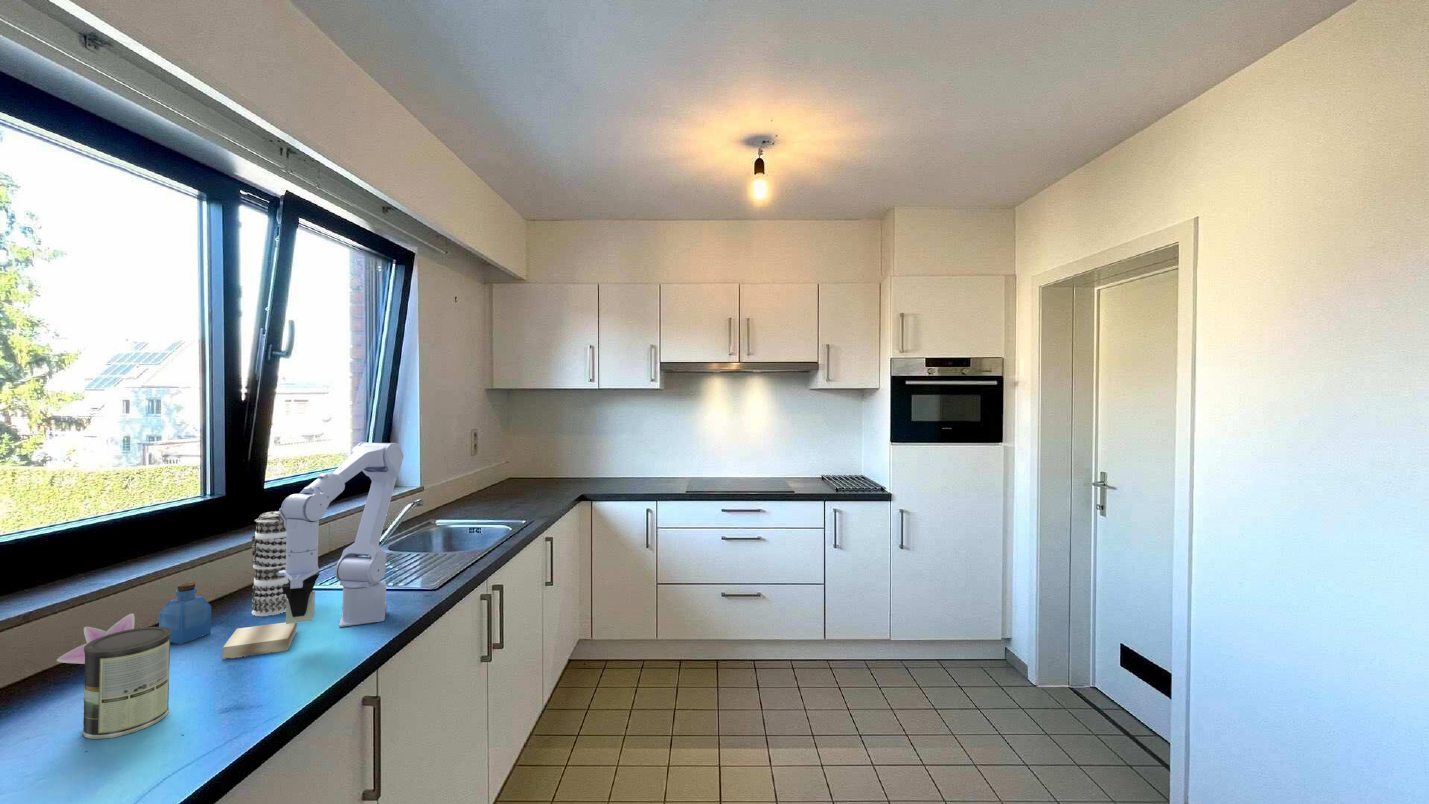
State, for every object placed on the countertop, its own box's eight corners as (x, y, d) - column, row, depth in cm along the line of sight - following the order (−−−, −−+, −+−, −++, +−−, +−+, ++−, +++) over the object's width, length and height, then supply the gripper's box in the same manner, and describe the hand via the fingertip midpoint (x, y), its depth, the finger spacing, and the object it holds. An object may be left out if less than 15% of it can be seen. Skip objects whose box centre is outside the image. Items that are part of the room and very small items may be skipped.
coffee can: (61, 740, 91) (64, 651, 91) (122, 706, 102) (124, 626, 102) (132, 739, 92) (134, 651, 92) (185, 705, 103) (187, 626, 103)
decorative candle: (282, 616, 144) (284, 516, 144) (240, 617, 143) (243, 516, 143) (302, 603, 153) (304, 509, 153) (263, 604, 152) (266, 509, 152)
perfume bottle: (180, 644, 127) (182, 589, 127) (158, 641, 129) (160, 587, 129) (210, 633, 133) (211, 581, 133) (189, 630, 135) (190, 578, 135)
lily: (42, 692, 108) (52, 653, 106) (83, 644, 118) (93, 608, 116) (125, 699, 113) (136, 662, 111) (157, 652, 123) (168, 618, 121)
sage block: (314, 613, 128) (315, 591, 128) (311, 620, 124) (312, 597, 124) (289, 616, 126) (290, 593, 126) (285, 624, 122) (286, 600, 122)
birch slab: (296, 633, 135) (296, 621, 135) (287, 652, 126) (287, 638, 126) (236, 641, 130) (236, 628, 130) (222, 661, 120) (222, 647, 120)
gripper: (285, 543, 130) (284, 603, 130) (272, 559, 117) (271, 626, 117) (323, 540, 133) (321, 599, 133) (314, 556, 120) (313, 621, 120)
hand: (300, 612), depth 125 cm, fingers closed on sage block, 4 cm apart
